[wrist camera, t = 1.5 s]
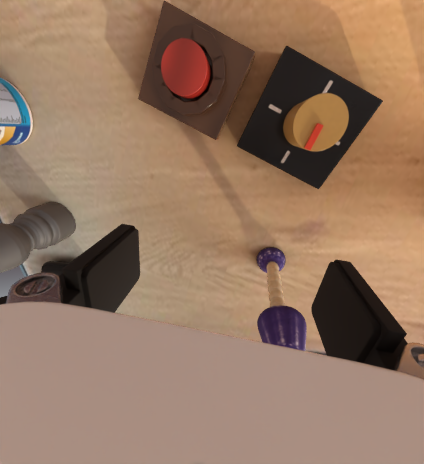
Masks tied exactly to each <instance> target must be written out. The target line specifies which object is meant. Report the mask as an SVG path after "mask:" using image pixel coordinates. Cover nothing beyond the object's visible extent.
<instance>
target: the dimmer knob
mask: <svg viewBox="0 0 424 464" xmlns="http://www.w3.org/2000/svg"><path fill="white" fill-rule="evenodd" d="M348 120H349V113H348V109H347V106H346V104H345V102H344V101H343V100H342V99H341V98H340V97H338V96H337V95H334V94H330V93H322V94H318V95H315V96H313V97H311V98H309V99H307V100H305V101H303V102H301V103H299V104H297V105H296V106H294V107H293V108H292V109H291V110H290V111H289V112H288V114H287V116H286V118H285V120H284V125H283V132H284V135H285V138H286V140H287V141H288V142H289V143H290V144H292V145H294V146H296V147H299V148H302V149H305V150H309V151H322V150H325V149H328V148H330V147H331V146H333V145H334V144H335V143H337V142H338V141H339V140H340V138H341V137H342V136H343V134H344V132H345V130H346V128H347V125H348Z"/></svg>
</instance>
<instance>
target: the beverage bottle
mask: <svg viewBox="0 0 424 464" xmlns="http://www.w3.org/2000/svg"><path fill="white" fill-rule="evenodd" d="M32 129H33V118H32V114H31V110H30V108H29V105H28V103H27V101H26V100H25V98H24V97H23V95H22V94H21V93H20V92H19V90H18V89H17V88H16V87H15V86H13V85H12V84H11V83H10V82H8V81H6V80H5V79H3V78H0V145H17V144H21V143H23V142H25V141H26V140H27V139H28V138H29V137H30V135H31V133H32Z"/></svg>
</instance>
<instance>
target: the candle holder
mask: <svg viewBox="0 0 424 464" xmlns="http://www.w3.org/2000/svg"><path fill="white" fill-rule="evenodd" d="M75 228H76V224H75V219H74V217H73V215H72V213H71V212H70V211H69V210H68V209H67V208H66V207H64V206H63V205H61V204H59V203H55V202H48V203H45V204H42V205H39V206H36V207H34V208H31V209H28V210H27V211H26V212H25V213H24V214H20V215H18V216H17V217H16V218H15V219H14V222H13V223H11V224H3V223H0V273H2V272H5V271H7V270H10V269H13V268H16V267H18V266H19V265H21V264H22V263H23V262H24V261H25V260H26V259H27V258H28V256H29V254H30V252H31V251H32V250H33V249H44V248H47V247H48V246H51V245H55V244H57V243H59V242H60V241H62V240H64V239H65V238H67V237H69V236H70V235H71V234H73V233H74V231H75Z"/></svg>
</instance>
